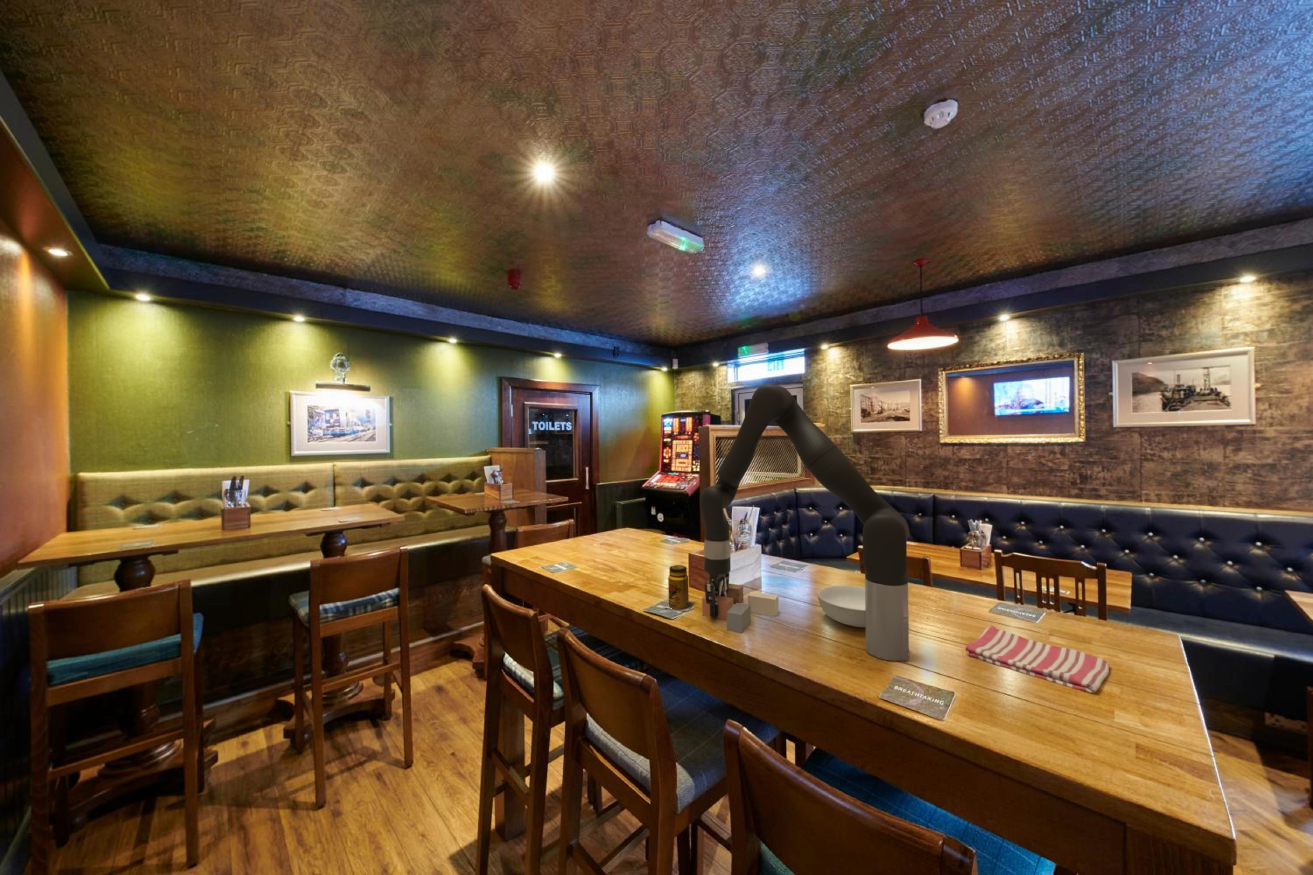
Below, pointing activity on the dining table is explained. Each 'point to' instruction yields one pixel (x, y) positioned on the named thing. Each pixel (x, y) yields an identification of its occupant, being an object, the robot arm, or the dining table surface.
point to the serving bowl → (844, 604)
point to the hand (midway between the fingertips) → (717, 613)
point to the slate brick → (738, 617)
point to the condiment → (678, 588)
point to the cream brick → (764, 603)
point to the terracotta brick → (723, 606)
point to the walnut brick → (735, 593)
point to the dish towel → (1040, 659)
